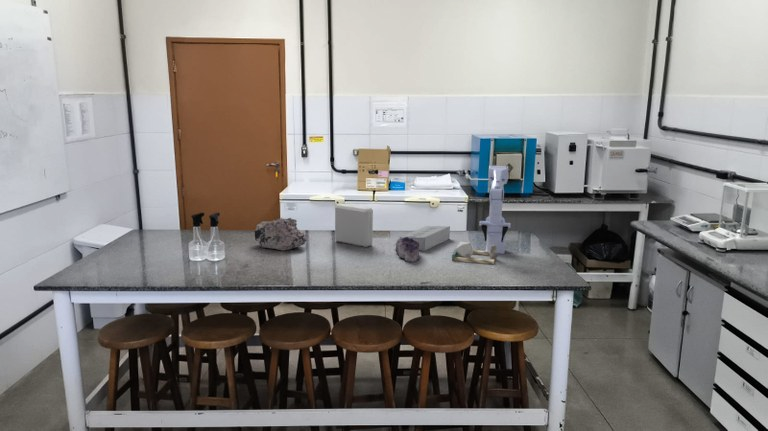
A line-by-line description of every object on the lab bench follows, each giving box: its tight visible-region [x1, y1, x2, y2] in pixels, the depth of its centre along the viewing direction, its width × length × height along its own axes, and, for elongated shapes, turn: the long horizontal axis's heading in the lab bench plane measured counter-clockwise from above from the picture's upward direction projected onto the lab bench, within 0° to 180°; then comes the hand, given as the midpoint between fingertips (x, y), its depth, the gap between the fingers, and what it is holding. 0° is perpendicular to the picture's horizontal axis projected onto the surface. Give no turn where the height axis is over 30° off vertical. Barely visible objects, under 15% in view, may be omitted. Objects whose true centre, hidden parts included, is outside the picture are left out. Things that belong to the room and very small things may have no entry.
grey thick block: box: [334, 203, 374, 248], centre depth 293 cm, size 21×8×20 cm, turn 58°
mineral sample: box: [254, 217, 307, 251], centre depth 286 cm, size 27×19×15 cm
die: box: [454, 241, 474, 258], centre depth 271 cm, size 8×9×10 cm
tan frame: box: [451, 245, 497, 265], centre depth 272 cm, size 20×16×7 cm
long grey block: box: [399, 225, 451, 252], centre depth 298 cm, size 30×14×8 cm, turn 149°
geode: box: [394, 237, 420, 263], centre depth 272 cm, size 20×12×10 cm, turn 11°
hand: (493, 241), depth 269 cm, fingers open, 7 cm apart
